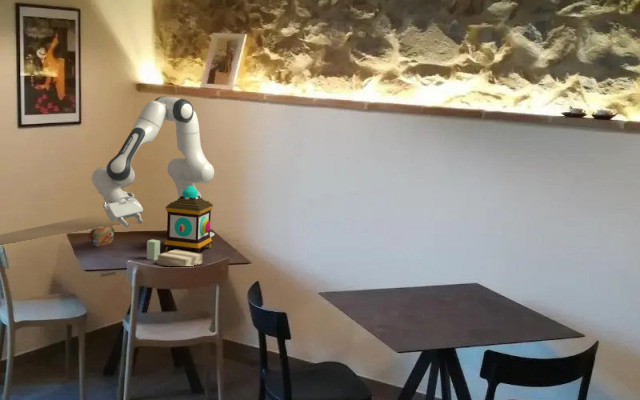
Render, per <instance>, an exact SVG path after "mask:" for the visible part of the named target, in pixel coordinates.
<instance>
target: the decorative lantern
mask: <svg viewBox="0 0 640 400" xmlns="http://www.w3.org/2000/svg"><path fill="white" fill-rule="evenodd" d="M196 189H197V188H196ZM196 189H195V188H194V187H192V186H188V187H186V188H185V189H184V190H183V194H182V196H180V198H179V199H178V198H177V199H176V200H174V201H171V202H170V203H168V204H167V205H166V206H165V210H166V212H167V219H166V220H167V225H166V226H167V227H166V239H165V241H164V243H163V252H164V253H166V252H168V247H170V248H180V249H189V250H194V251H195V253H199V254H201V250H202V249H203V248H205V247H207V246H208V249H212V247H213V240H212V237H210V232H211V215H212V214H211V212H212V209H213V207H214V205H213V204H212V203H211V202H210V201H209V200H205V199H204V198H202V197H201V198H200V196H198V192H197V190H198V189H197V190H196Z"/></svg>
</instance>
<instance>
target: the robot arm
mask: <svg viewBox="0 0 640 400" xmlns="http://www.w3.org/2000/svg"><path fill="white" fill-rule="evenodd" d="M165 121H169V122H174V123H175V133H176V134H175V135H176V145H177V150H178V151H179V152H180V153H181V154H182V155H183V157H184V158H183V157H179V158H172V159H171V160H170V161H169V163H168V165H167V174H168V176H169V177H170V178H171V179H172V181H173V182H174V184H175V187H176V188H175V189H176V191H177V200H178V199H179V198H180V196H182V194H183V190H184V189H185V188H186V187H188V186H192V187H194V188H195V189H196V190H197V192H198V196H200V198H202V194H201V192H200V191H199V190H198V189H197V187H196V186H195V184H199V185H200V184H202V185H203V184H209V183H211V181H213V179H214V177H215V168H214V166H213V165H212V164H211V163H210V161H208V159H207V158H206V156H205V153H204V151H203V148H202V143H201V142H202V141H201V132H200V123H199V119H198V115H197V112H196V111H195V110H194V106H193V104H192V103H191V102H190V100H187V99H184V98H180V97H177V96H176V97H175V96H159V97H157V98H155V99H154V100H151V101H147V103H146V104H145V106H144V107H143V109H142V110H141V112H140V113H139V115H138V117H137V119H136V121H135V123H134V125H133V127H132V129H131V131H130V133H129V135H128V136H127V138H126V139H125V141H124V143H123V144H122V146H121V148H120V150H119V151H118V152H117V154H116V155H115V156H114V157H113V158H111V159H110V160H109V162H108V163H107V166H105V167H103V166H101V167H99V168H97V169H95V170H94V172H93V173H92V175H91V182H92V185H94V187H95V189H96V191H97V192H98V194H100V195H101V196H102V198H103V200H104V202H103V204H102V208H104V212H105V213H106V215H107V217H108V219H109V220H110V221H111V222H117V221H118V223H120V224H121V225H122V226H123V227H124V228H129V226H130V223H129V222H128V221H126V220H125V219H129V218H133V217H134V218H136V219H137V220H136V222H137V224H138V225H140V224H142V223H143V219H142V217H141V216H142V215H141V214H142V213H143V212H144V208H143V206H142V205H141V204H140V202H139V201H138V199H137V198H135V194H134V193H132V192H127V191H125V190H123V188H126V187H128V186H130V185H131V184H132V183H134V181H135V179H136V172H135V171H134V168H133V167H132V165H131V164H132V160H133V159H134V156H135V154H136V153H137V152H138V150H139V149H140V147H141V145H142V144H149V143H151V142H153V141H154V140H155V138H156V137H157V136H158V134H159V133H160V132H159V131H160V129H161V128H162V126H163V123H164V122H165ZM214 236H215V233H214V232H212V231H210V237H211V238H213V237H214Z"/></svg>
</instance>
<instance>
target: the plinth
mask: <svg viewBox="0 0 640 400" xmlns="http://www.w3.org/2000/svg"><path fill="white" fill-rule="evenodd" d="M203 256H204V255H203V253H200V254H199V253H196V252H193V251H186V250H180V249H173V250H169V251H166V252H163V253H160V255H158V259H157V265H158V266H159V265H162V266H165V267H166V266H167V267H170V266H193V267H195V266H194V265H196V266H198V265H200V264H203ZM197 264H198V265H197Z"/></svg>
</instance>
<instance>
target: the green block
mask: <svg viewBox="0 0 640 400" xmlns="http://www.w3.org/2000/svg"><path fill="white" fill-rule="evenodd" d="M160 254H161V240H158V239H149V240H147V241H146V260H151V261H156V260H157V261H158V255H160Z"/></svg>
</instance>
